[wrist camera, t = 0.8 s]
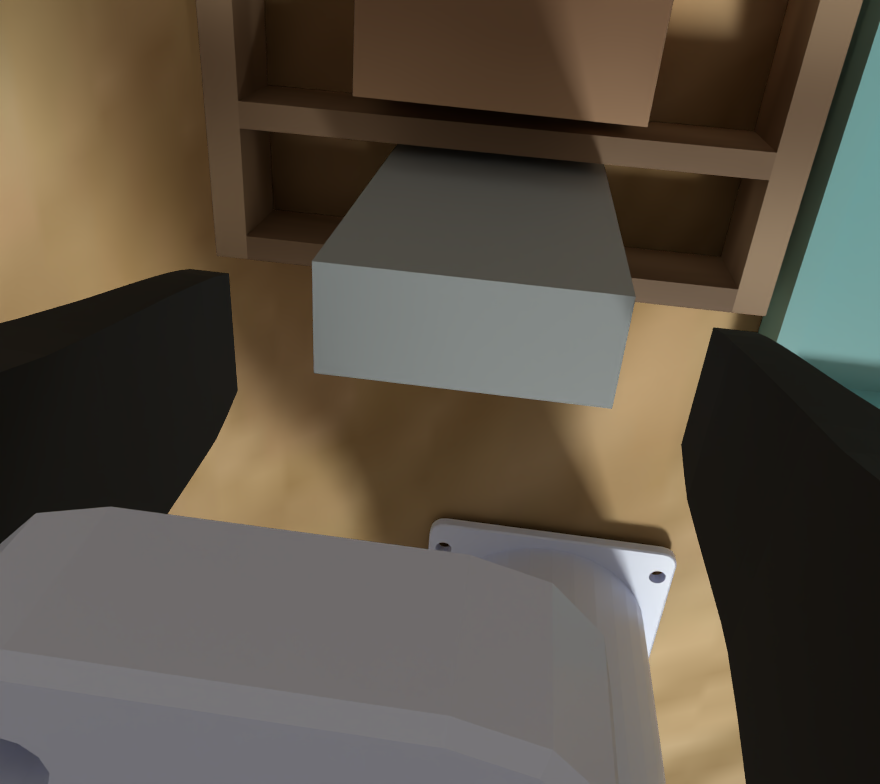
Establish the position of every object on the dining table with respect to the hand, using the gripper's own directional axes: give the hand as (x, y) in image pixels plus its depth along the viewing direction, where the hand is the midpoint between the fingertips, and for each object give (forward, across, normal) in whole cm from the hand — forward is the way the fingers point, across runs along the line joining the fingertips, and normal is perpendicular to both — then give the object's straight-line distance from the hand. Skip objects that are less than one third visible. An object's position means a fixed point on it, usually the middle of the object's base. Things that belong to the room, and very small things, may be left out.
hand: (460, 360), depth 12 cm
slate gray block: (+10, 0, 0) cm, 10 cm away
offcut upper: (+8, 0, -4) cm, 9 cm away
